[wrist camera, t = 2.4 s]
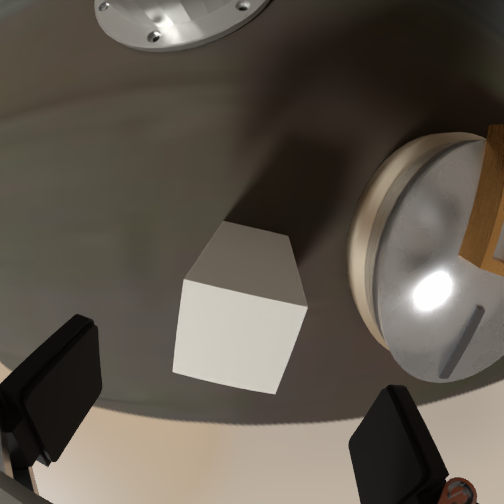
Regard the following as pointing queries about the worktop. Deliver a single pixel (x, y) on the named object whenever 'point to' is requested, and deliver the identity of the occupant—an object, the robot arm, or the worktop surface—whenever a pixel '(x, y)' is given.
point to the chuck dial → (442, 261)
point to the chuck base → (370, 207)
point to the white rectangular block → (240, 310)
